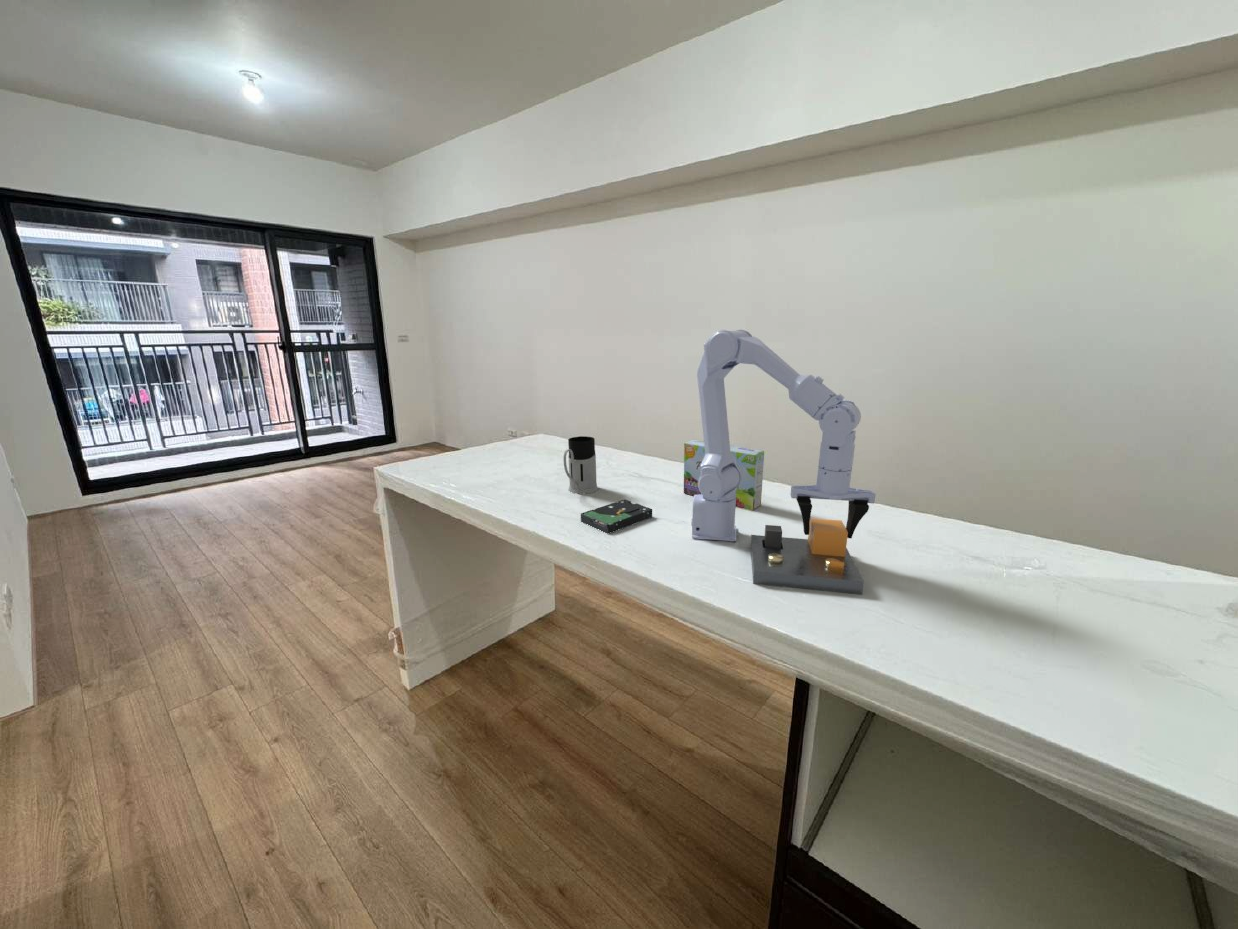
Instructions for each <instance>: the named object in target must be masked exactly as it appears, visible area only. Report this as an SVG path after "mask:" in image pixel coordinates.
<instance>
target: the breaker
mask: <svg viewBox="0 0 1238 929" xmlns="http://www.w3.org/2000/svg"><path fill="white" fill-rule="evenodd" d="M764 527H765V528H764V536H765V537H764V546H765V548H772V549H781V542H782V537H783V529H782V526H781V525H773V524H765V526H764Z"/></svg>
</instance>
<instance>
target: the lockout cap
mask: <svg viewBox="0 0 1238 929" xmlns="http://www.w3.org/2000/svg"><path fill="white" fill-rule="evenodd" d="M807 536H808V538H807V539H808V543H809V546H810V549H811V552H812V554H819V555H831V556H842V557H845V553H846V548H847V543H848V538H847V536H848V531H847V530H846V525H845V524H844V523H843V520H839V519H827V518H825V519H824V518H812V517H810V529H809V535H807Z"/></svg>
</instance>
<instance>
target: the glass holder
mask: <svg viewBox="0 0 1238 929" xmlns="http://www.w3.org/2000/svg"><path fill="white" fill-rule="evenodd" d="M567 455H568V458H567ZM596 455H597V454H596V443H595V438H594V437H593V436H581V435H580V436H574V437H569V438H568V448H567V449H566V450H565V451H564V454H563V467H564V470H565V474H566V476H567V477H568V479H569V487H568V492H569V491H570V493H571V492H572V494H575V493H582V494H581V495H584V494H583V493H588V494H592V493H594V492H597V491H598V490H599V487H598V484H597V457H596ZM567 459H568V467H567Z"/></svg>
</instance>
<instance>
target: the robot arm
mask: <svg viewBox="0 0 1238 929" xmlns="http://www.w3.org/2000/svg"><path fill="white" fill-rule="evenodd" d="M739 364H745V365H755V366H757V367H758V368H759V369H760V370H762V371H763V372H765V373H766V374H767V375H768V376H769V377H771V378H773V379H774V380H775V381H776V382H778V383H780V384H781V385H782V386H783V387H785V388H786V389H787V391H788V398H789V400H790V401H792V402H793V403H794V404H795V405H797V406H798V407H799V408H800V409H802V410H803V411H804V412H805V413H806V414H807V415H809V417H811V418H812V419H814V421H818V424H819V428H820V430H821V432H822V436H821V442H820V450H819V459H818V467H817V476H816V484H815V485H811V484H810V485H791V487H790V498H791V499H795V500H796V502H797V504H798V507H799V510H800V513H801V518H802V523H803V524H802V525H803V533H804V535H805V536H809V529H810V518H811V515H812V510H813V505H812V500H811V499H814V500H815V499H817V500H831V501H832V500H833V501H848V509H847V519H846V525H845V528H846V530H847V531H848V536H847V539H852V538H853V535H854V532H855V530H856V529H857V527H858V525H859V523H860V522H861V520H862V519H863V517H864V516H865V515H866V514H868V511H869V509H870V505H869V504H873V505H874V504H875V500H876V492H874V491H873V489H872V490H871V489H862V488H861V489H860V488H854V487H851V479H852V473H853V472H852V471H853V465H854V464H853V463H854V462H853V461H854V454H855V449H856V448H855V447H856V444H855V440H856V432H857V431H856V430H855V429H856V428H857V427H858V426H859V425H860V422H861V418H862V415H861V410H860V409H859V407H858V406H857V405H856V404H855V402H854V401H851V400H844V399H845V396H844V395H842V394H841V393H839V394H837V393H836V392H834V391H833V390H832V389H831V388H829V387H828V386H826V384H824V383H823V382H824V379H823V378H822V376H820V375H818V376H813V375H812V374H805V375H801V374H800V373H799V372H798V371H796V370H795V369H794V368H793V367H792V366H790V364H788V363H787V362H786V361H785V360H783V358H781V356H779V355H778V354H777V353H775V351H773V349H771V348H770V347H769V346H768V345H766V343H764V342H763V341H762V340H761V339H760V338H758V337H756V336H753V335H752V334H751V333H750V331H747V330H744V329H737V330H726V329H721V330H717V331H715V332H714V333H713V334H712V335H711V336H710V337H709V338H708V339H707V340H706V342H705V343H703V354H702V357H701V359H700V363H699V366H698V369H697V373H696V375H697V376H696V377H697V385H698V396H699V398H698V399H699V406H700V415H701V424H702V425H701V426H702V435H703V437H702V438H703V441H704V447H705V457H704V459H703V461H702V463H701V466H700V477H699V480H698V488H699V491H700V493H701V494H699V495H694V496H693V500H692V518H691V538H692V539H698V540H699V539H702V540H710V541H711V540H712V541H714V540H715V541H726V542H736V541H737V526H736V525H735V524H736V508H737V507H736V492H735V491H736V487H738V486H739V484H740V482H741V478H742V477H741V472H740V470H739V468H738V467H737V464H736V458H735V456H734V455H733V454H732V453H731V451H730V445H731V443H730V442H731V441H730V432H729V431H730V430H729V424H728V423H729V421H728V412H727V410H728V408H727V398H726V388H725V378H726V377H727V375H729V374H730V372H731V371H732V370H733V369H734V368H735V367H736V366H737V365H739Z"/></svg>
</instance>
